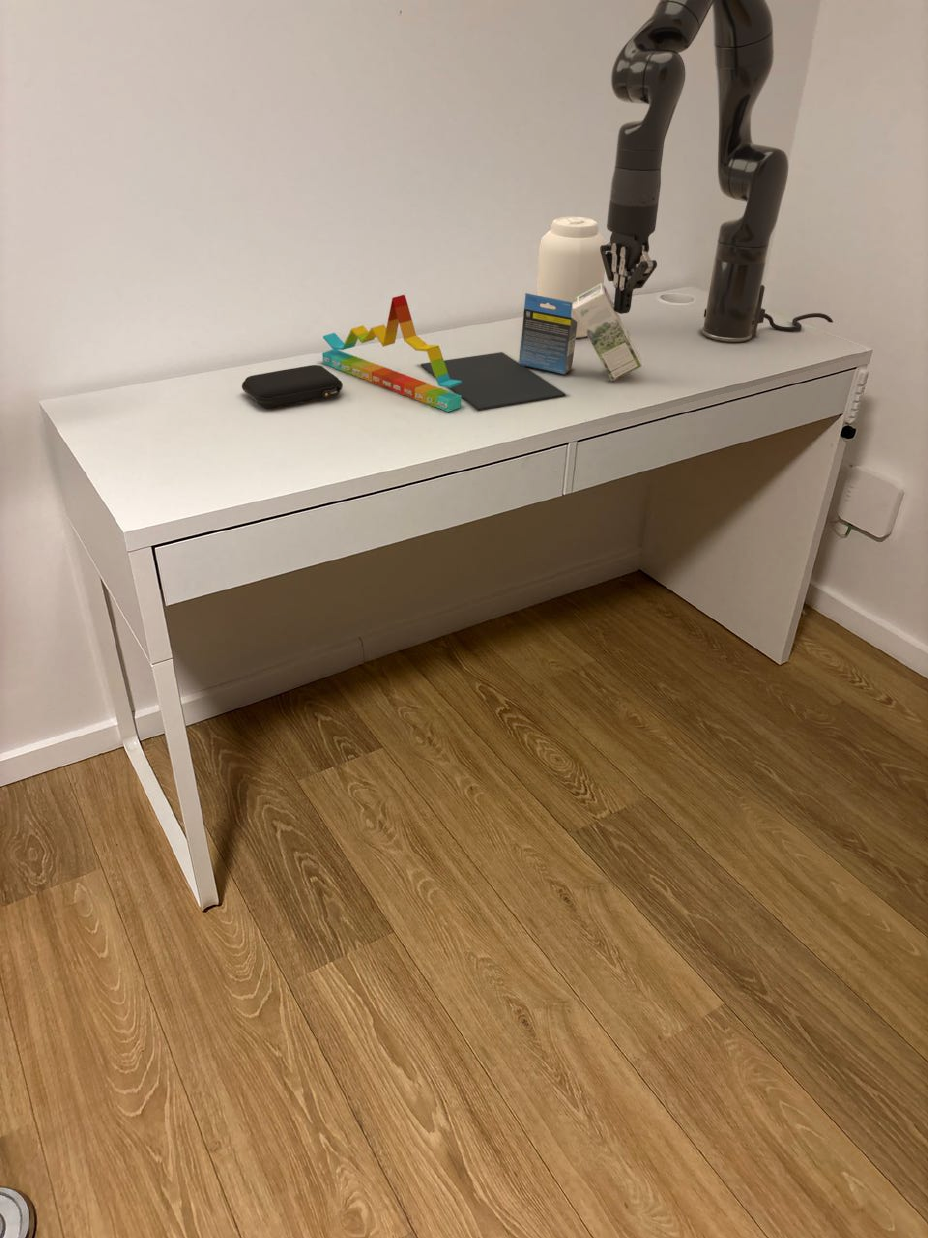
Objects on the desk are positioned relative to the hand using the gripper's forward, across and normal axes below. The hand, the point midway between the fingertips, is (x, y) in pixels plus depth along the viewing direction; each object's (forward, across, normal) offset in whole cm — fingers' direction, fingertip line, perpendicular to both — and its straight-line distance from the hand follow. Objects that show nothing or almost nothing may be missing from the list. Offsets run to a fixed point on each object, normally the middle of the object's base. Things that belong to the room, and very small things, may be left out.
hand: (621, 311), depth 159 cm
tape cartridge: (+12, +10, +8) cm, 17 cm away
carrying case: (+12, +14, +52) cm, 55 cm away
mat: (+12, +8, +19) cm, 24 cm away
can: (+12, +27, -7) cm, 30 cm away
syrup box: (+10, 0, -3) cm, 11 cm away
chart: (+12, +13, +36) cm, 40 cm away
